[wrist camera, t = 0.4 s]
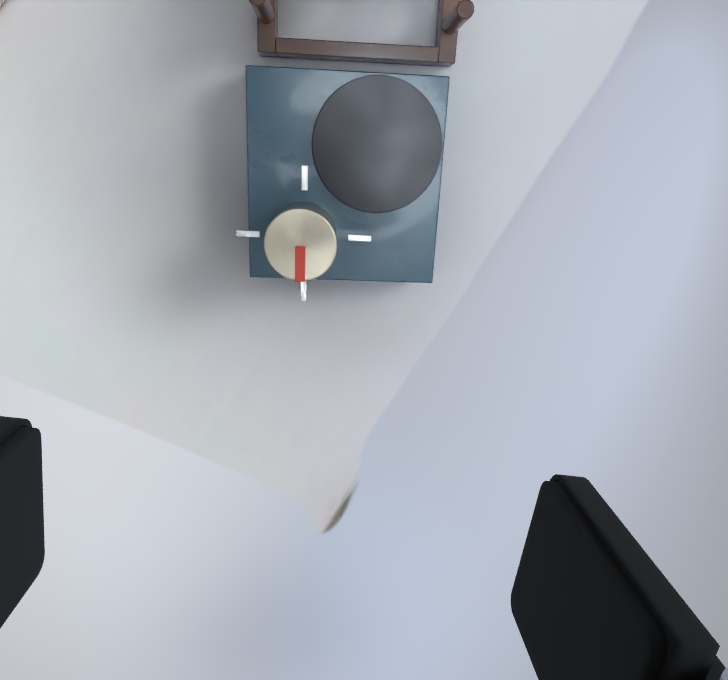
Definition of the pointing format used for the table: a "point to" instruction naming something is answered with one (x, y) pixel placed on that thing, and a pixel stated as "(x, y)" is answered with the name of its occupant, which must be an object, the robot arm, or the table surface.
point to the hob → (302, 184)
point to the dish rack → (443, 54)
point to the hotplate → (377, 143)
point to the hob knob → (301, 242)
